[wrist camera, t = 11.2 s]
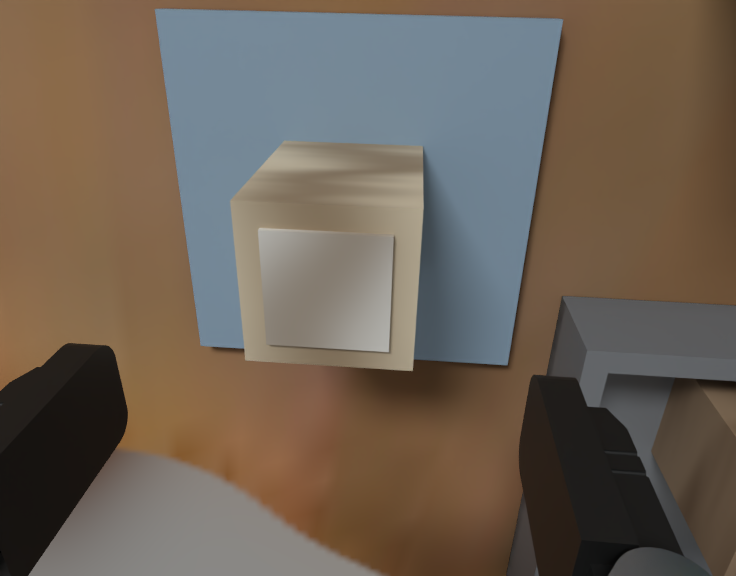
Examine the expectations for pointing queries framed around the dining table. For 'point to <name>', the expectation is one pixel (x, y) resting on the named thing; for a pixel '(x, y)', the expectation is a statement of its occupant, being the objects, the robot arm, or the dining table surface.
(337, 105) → the placing board
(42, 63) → the dining table surface
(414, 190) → the beige box with label
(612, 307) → the parts bin
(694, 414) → the walnut block
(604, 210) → the dining table surface
